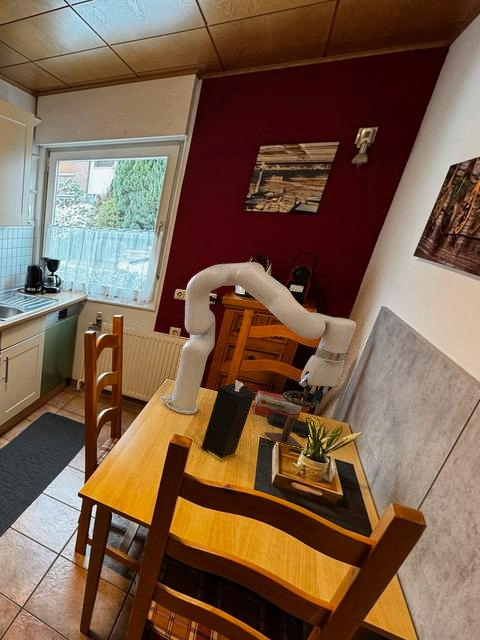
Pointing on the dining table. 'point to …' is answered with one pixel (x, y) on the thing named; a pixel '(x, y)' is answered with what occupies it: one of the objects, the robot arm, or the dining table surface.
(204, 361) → the robot arm
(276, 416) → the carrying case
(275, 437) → the post
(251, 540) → the dining table surface
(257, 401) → the medicine box
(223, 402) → the tissue box
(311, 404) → the ring
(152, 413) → the dining table surface
